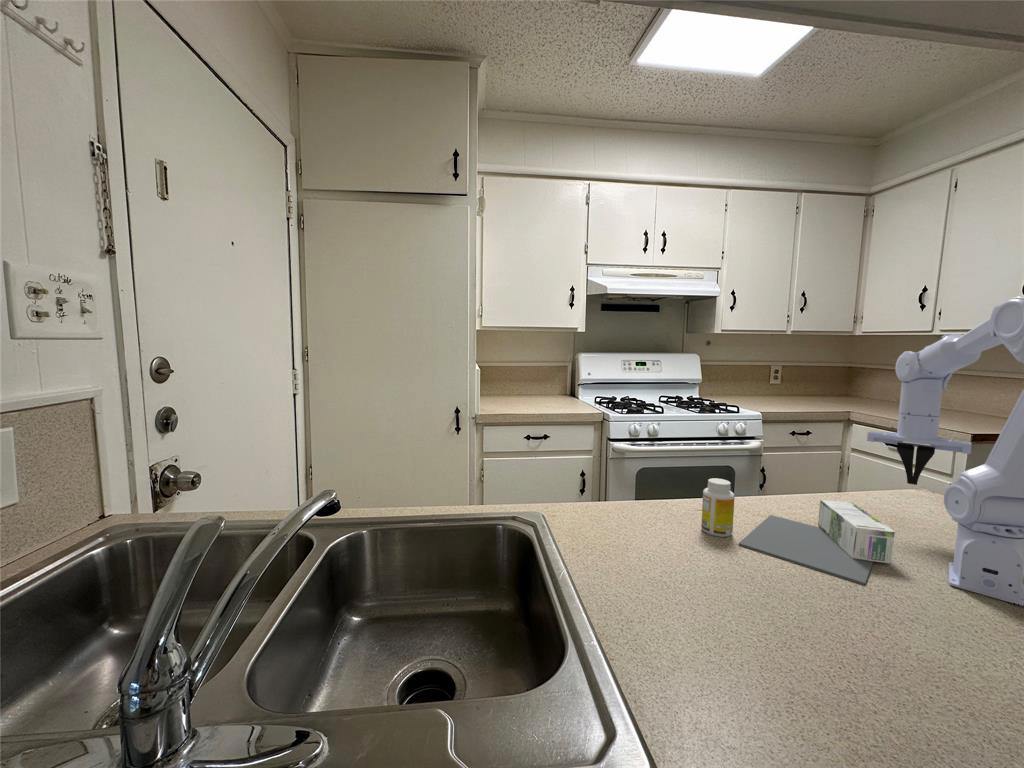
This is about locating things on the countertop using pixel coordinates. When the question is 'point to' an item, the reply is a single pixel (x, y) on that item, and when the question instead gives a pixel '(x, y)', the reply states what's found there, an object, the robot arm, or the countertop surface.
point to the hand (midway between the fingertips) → (912, 483)
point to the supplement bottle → (718, 508)
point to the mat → (806, 548)
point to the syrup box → (856, 531)
